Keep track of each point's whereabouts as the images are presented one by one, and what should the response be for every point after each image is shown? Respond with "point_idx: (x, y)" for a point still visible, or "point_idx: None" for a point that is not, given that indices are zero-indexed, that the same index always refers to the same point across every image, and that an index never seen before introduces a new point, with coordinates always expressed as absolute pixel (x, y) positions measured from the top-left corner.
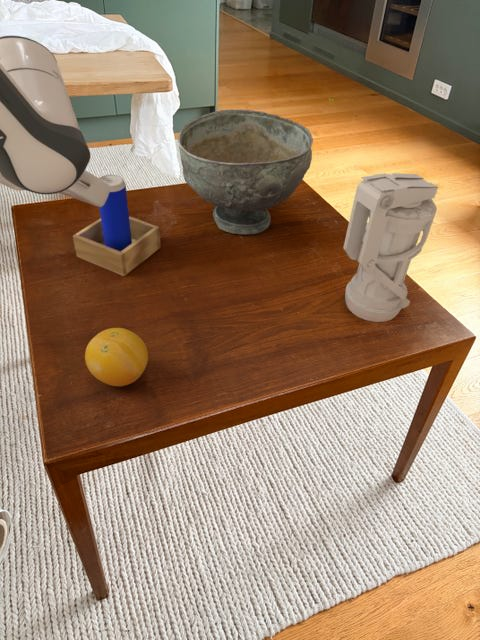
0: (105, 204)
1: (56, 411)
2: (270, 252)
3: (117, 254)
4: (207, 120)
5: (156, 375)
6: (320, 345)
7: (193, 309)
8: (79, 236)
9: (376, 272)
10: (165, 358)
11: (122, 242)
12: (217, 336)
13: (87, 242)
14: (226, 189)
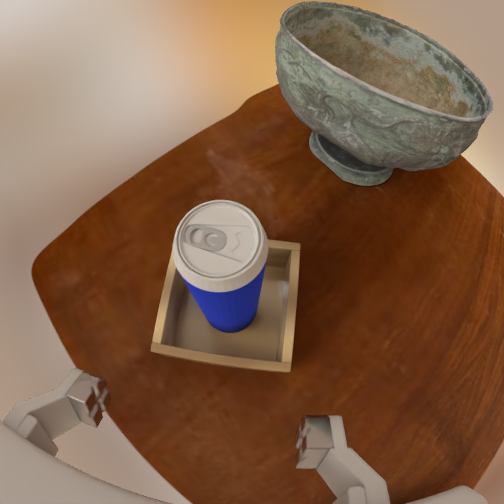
0: (224, 304)
1: None
2: (426, 208)
3: (279, 371)
4: (292, 15)
5: (424, 496)
6: None
7: (420, 381)
8: (165, 348)
9: None
10: (425, 474)
11: (252, 316)
12: (460, 404)
13: (192, 359)
14: (436, 156)
